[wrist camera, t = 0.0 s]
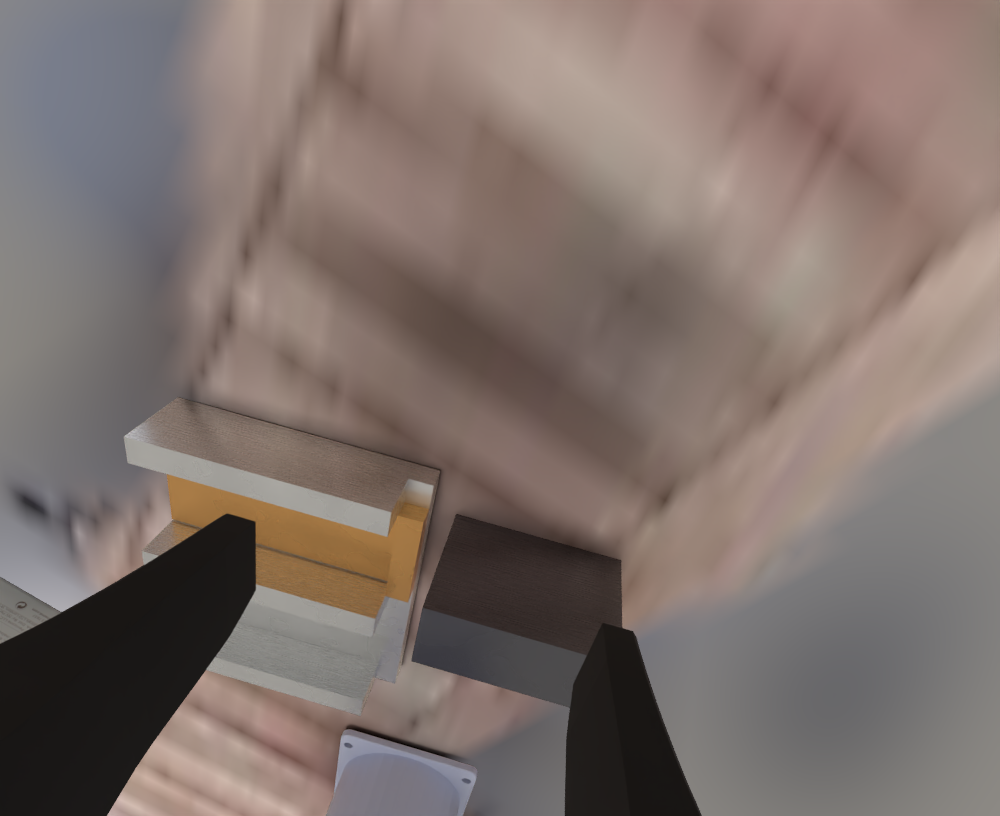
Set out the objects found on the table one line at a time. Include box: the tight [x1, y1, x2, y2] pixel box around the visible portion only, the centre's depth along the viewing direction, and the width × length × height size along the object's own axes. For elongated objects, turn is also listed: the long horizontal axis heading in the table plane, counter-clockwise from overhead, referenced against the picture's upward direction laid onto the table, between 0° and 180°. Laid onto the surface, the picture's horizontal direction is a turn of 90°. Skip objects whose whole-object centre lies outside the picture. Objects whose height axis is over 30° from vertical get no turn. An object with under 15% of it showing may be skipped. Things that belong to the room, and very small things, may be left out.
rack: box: [124, 397, 440, 716], centre depth 25 cm, size 13×11×3 cm
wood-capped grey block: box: [411, 514, 622, 707], centre depth 22 cm, size 3×7×5 cm, turn 79°
